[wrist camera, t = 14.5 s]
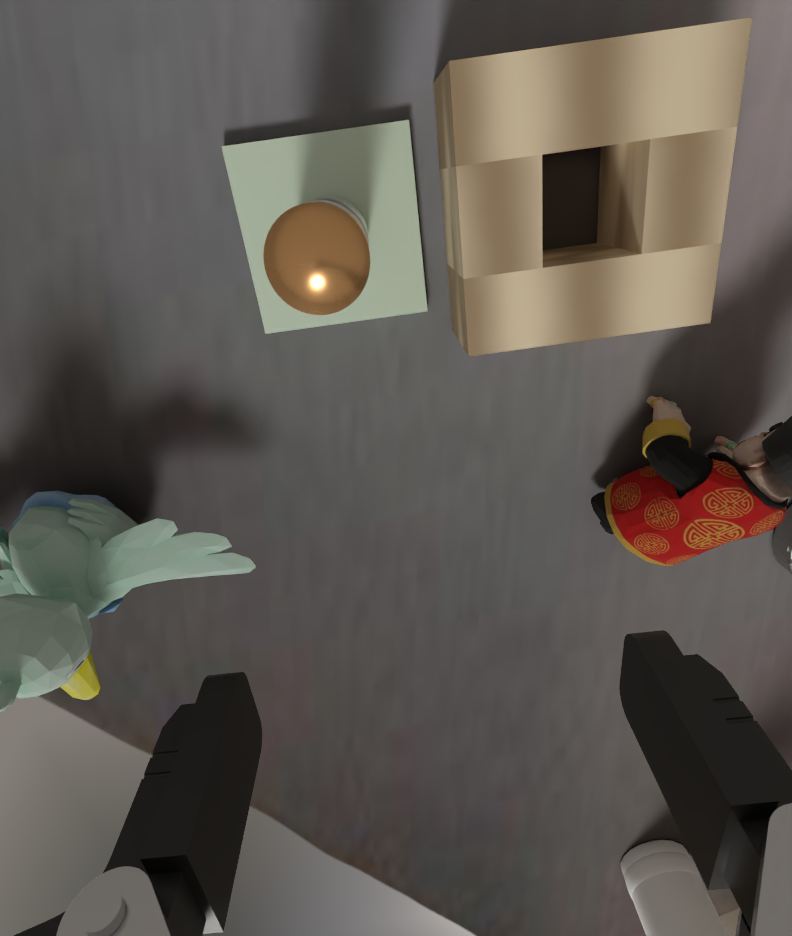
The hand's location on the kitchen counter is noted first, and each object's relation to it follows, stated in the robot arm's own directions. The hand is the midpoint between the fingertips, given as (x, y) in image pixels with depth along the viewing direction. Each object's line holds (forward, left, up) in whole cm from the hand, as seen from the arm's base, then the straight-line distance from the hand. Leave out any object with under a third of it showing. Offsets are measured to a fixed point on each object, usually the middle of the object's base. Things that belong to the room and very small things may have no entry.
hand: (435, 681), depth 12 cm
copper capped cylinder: (+2, -7, -26) cm, 27 cm away
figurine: (-20, +11, -27) cm, 35 cm away
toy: (+22, +11, -27) cm, 36 cm away
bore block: (-11, -7, -27) cm, 30 cm away
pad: (+2, -7, -27) cm, 28 cm away
